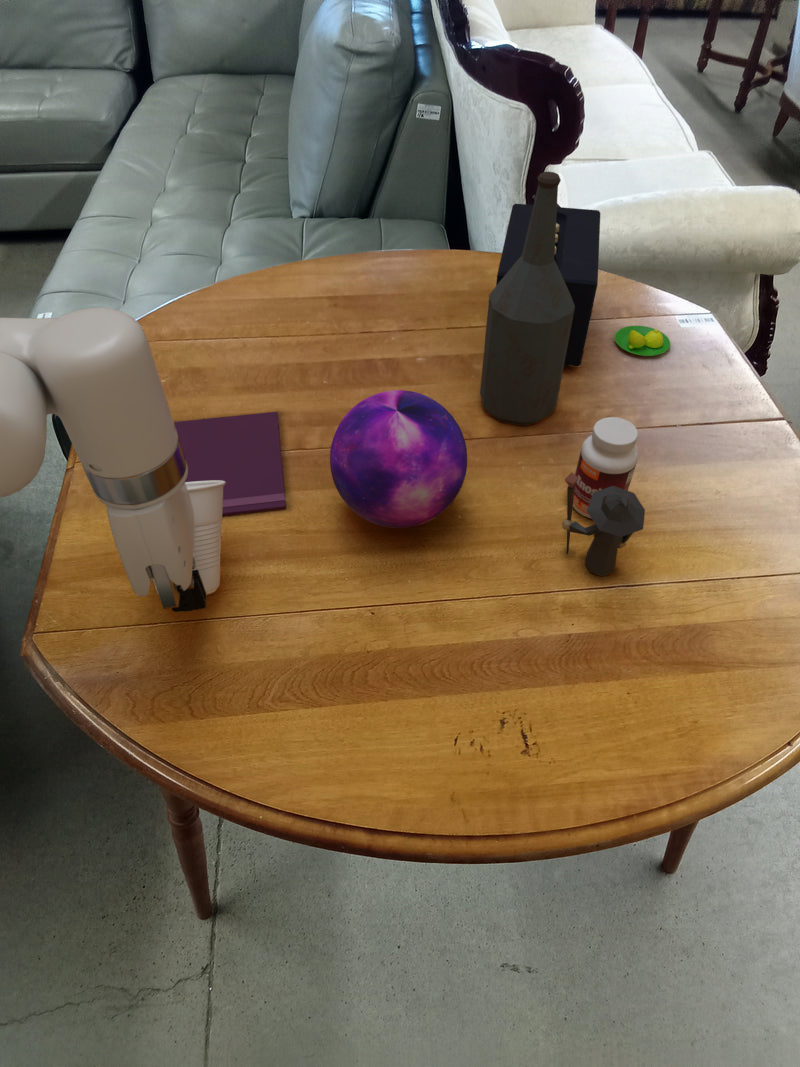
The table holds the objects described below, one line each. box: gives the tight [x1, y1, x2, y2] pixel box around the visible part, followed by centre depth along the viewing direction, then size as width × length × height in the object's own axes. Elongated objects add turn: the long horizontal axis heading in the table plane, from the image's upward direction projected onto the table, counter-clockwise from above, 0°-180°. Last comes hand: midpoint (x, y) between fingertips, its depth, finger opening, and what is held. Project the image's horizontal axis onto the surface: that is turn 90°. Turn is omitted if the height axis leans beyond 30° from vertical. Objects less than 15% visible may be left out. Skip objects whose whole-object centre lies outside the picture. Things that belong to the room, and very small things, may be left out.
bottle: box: [479, 171, 575, 426], centre depth 91 cm, size 10×10×30 cm
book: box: [174, 411, 287, 517], centre depth 93 cm, size 14×18×1 cm
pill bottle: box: [573, 416, 639, 520], centre depth 85 cm, size 6×6×11 cm
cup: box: [152, 480, 226, 596], centre depth 76 cm, size 10×10×11 cm
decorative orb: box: [329, 389, 468, 529], centre depth 83 cm, size 15×15×15 cm
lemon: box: [614, 325, 671, 357], centre depth 111 cm, size 8×8×3 cm
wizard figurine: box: [561, 471, 646, 577], centre depth 78 cm, size 8×6×12 cm
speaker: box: [495, 203, 601, 368], centre depth 109 cm, size 22×13×15 cm, turn 169°
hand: (190, 603), depth 73 cm, fingers closed
